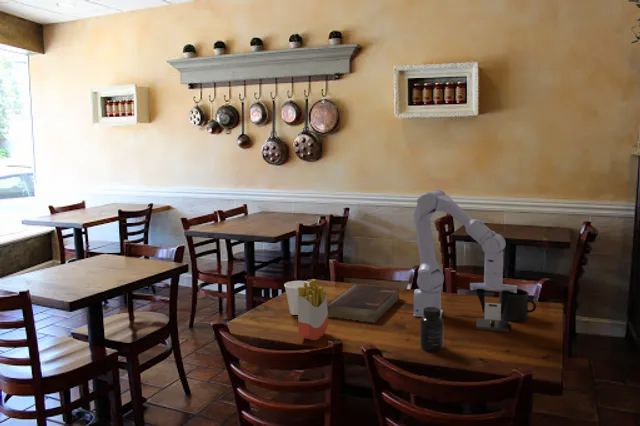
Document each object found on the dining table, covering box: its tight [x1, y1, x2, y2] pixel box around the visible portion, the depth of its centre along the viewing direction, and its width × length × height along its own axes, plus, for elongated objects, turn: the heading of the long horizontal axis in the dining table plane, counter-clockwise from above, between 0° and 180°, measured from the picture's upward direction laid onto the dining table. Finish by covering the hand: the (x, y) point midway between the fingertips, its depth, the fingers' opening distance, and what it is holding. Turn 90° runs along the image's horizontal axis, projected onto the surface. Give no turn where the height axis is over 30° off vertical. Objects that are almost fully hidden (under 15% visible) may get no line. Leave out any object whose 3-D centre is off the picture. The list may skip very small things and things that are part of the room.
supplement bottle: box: [419, 307, 445, 353], centre depth 156 cm, size 7×7×12 cm
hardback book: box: [327, 283, 400, 324], centre depth 196 cm, size 29×19×5 cm, turn 155°
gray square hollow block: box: [483, 302, 502, 320], centre depth 172 cm, size 5×5×4 cm
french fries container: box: [297, 278, 329, 341], centre depth 166 cm, size 5×11×18 cm, turn 147°
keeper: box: [475, 317, 510, 333], centre depth 173 cm, size 10×8×4 cm
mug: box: [498, 288, 537, 322], centre depth 180 cm, size 9×12×9 cm
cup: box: [284, 280, 309, 316], centre depth 190 cm, size 10×10×11 cm
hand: (492, 312), depth 172 cm, fingers closed on gray square hollow block, 5 cm apart
